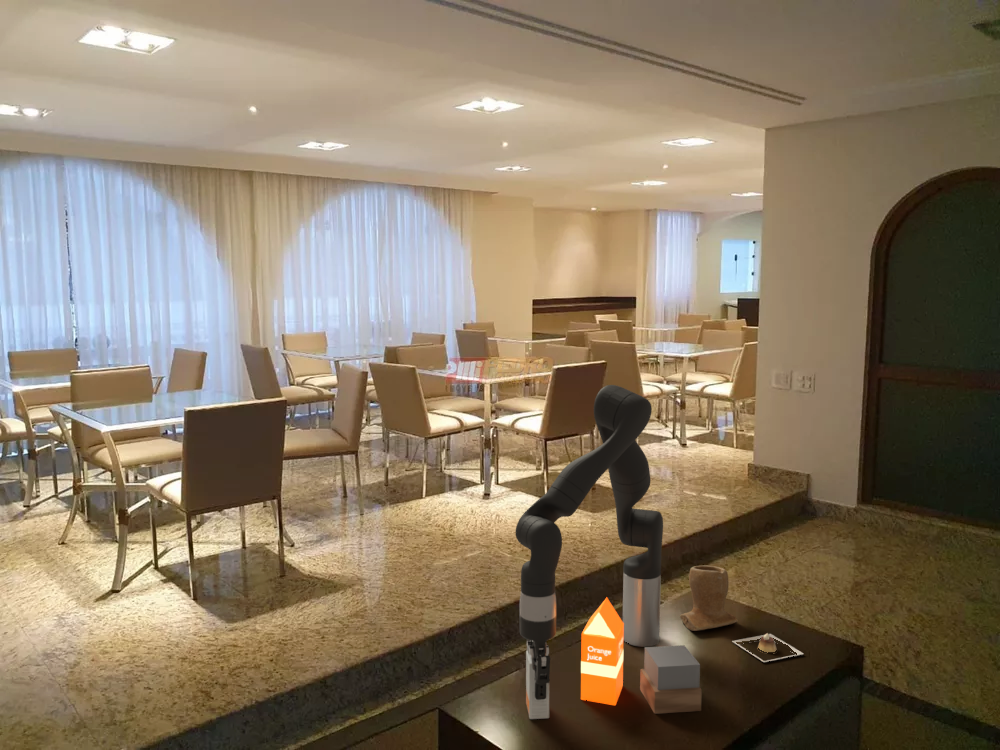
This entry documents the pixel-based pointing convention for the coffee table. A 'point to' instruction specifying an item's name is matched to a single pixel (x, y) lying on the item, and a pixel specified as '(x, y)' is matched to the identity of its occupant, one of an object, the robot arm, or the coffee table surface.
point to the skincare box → (534, 706)
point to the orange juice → (602, 656)
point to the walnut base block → (669, 697)
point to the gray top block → (671, 667)
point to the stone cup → (708, 599)
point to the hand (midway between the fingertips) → (537, 690)
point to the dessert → (767, 645)
